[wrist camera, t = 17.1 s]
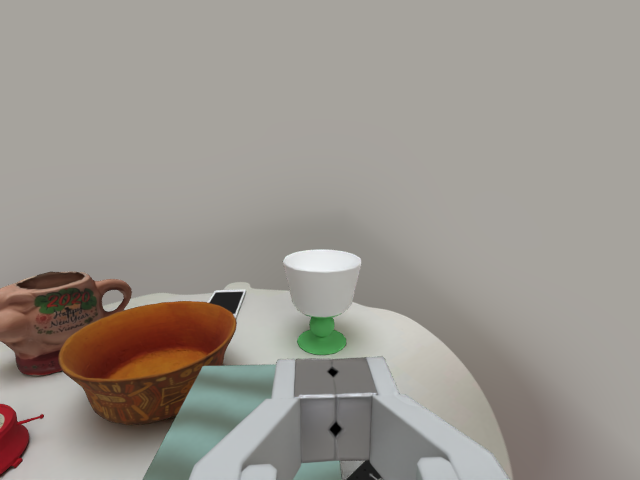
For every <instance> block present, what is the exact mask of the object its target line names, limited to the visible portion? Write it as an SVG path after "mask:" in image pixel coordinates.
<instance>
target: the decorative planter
mask: <svg viewBox="0 0 640 480" xmlns="http://www.w3.org/2000/svg"><path fill="white" fill-rule="evenodd" d="M109 290H119V291H120V292H121V293H123V295H124V299H123V301H122V303H121V304H120V305H119V307H118V308H117V309H115V310H114V311H110V312H107V311H105V310H104V309H103V306H102V297H103V295H104V294H105V293H106V292H107V291H109ZM131 293H132V291H131V288H130V286H129V285H128V284H127V283H126V282H124V281H122V280H118V279H107V280H102V281H94V280H92V278H91V277H90V276H89V275H87V274H86V273H82V272H48V273H44V274H40V275H37V276H33V277H30V278H27V279H24V280H21V281H19V282H17V283H15V284H11V285H8V286H5V287H3V288H1V289H0V341H1V342H3V343H4V344H6V345H7V346H8V347H9V348H11V349H12V350H13V351H14V352H15V356H16V363H17V367H18V369H19V371H21V372H22V373H23V374H27V375H34V376H38V375H46V374H51V373H55V372H59V371H62V369H61V367H60V365H59V360H58V358H59V353H60V350H61V348H62V346H63V345H64V343H65V341H66V340H67V339H68V338H69V337H70V336H71V335H73V334H74V333H75V332H77V331H78V330H80V329H81V328H83V327H85V326H87V325H89V324H91V323H93V322H95V321H97V320H99V319H102V318H105V317H107V316H110V315H112V314H114V313H117V312H120V311H123V310H124V308H125V307H126V306H127V304H128V303H129V301H130V299H131Z"/></svg>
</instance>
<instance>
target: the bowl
mask: <svg viewBox="0 0 640 480" xmlns="http://www.w3.org/2000/svg"><path fill="white" fill-rule="evenodd" d="M236 324H237V323H236V318H235V316H234V315H233V314H232V313H231V312H230V311H229V310H227V309H225V308H224V307H221V306H219V305H215V304H211V303H207V302H192V301H178V302H164V303H158V304H151V305H145V306H140V307H136V308H131V309H128V310H124V311H120V312H117V313H114V314H112V315H110V316H107V317H105V318H102V319H99V320H97V321H95V322H93V323H91V324H89V325H87V326H85V327H83V328H81V329H80V330H78V331H77V332H75V333H74V334H73V335H71V336H70V337H69V338H68V339H67V340H66V341H65V343H64V345H63V346H62V348H61V350H60V353H59V358H58V360H59V365H60V367H61V369H62V371H63V372H64V373H65V374H66V375H67V376H69V377H70V378H71V379H73V380H74V381H75V382H77V383H78V384H79V385H80V386H82V387H83V389H84V391H85V393H86V395H87V398H88V400H89V402H90V404H91V406H92V408H93V410H94V411H95V412H96V413H97V414H98V415H99V416H100V417H102V418H104V419H106V420H108V421H110V422H115V423H122V424H128V425H132V424H147V423H152V422H156V421H160V420H164V419H167V418H169V417H172V416H175V415H177V414H178V412H179V410H180V408H181V406H182V405H183V403H184V401H185V399H186V397H187V395H188V393H189V391H190V390H191V388H192V386H193V384H194V382H195V380H196V378H197V376H198V374H199V373H200V371H201V369H202V367H203V366H223V360H224V354H225V351H226V348H227V346H228V344H229V343H230V341H231V339H232V337H233V335H234V333H235V330H236Z"/></svg>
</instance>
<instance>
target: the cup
mask: <svg viewBox="0 0 640 480" xmlns="http://www.w3.org/2000/svg"><path fill="white" fill-rule="evenodd" d="M283 264H284V268H285V272H286V277H287V281H288V285H289V290H290V294H291V298H292V302H293V304H294V306H295V307H296V308H297V310H298V311H300V312H301V313H303V314H305V315H307V316H310V317H312V318H311V320H310V330H308V331H305V332H303V333H302V334H301V335H300V336H299V338H298V341H297V342H298V345H299V347H300V348H302V349H303V350H304V351H306V352H309V353H312V354H317V355H327V354H333V353H336V352H338V351H340V350H342V349H343V348H344V346H345V345H346V338H345V337H344V336H343V334H341V333H340V332H338V331H336V330H333V329H334V319H333V318H332V317H335V316H338V315H340V314H342V313H344V312H345V311H346V310H347V309H348V308H349V307H350V305H351V304H352V299H353V295H354V291H355V287H356V283H357V279H358V275H359V271H360V267H361V259H360V258H359V257H357V256H356V255H354V254H351V253H347V252H344V251H336V250H305V251H300V252H295V253H292V254H290V255H288V256H286V257H285V259H284V260H283Z"/></svg>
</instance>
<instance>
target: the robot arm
mask: <svg viewBox="0 0 640 480" xmlns="http://www.w3.org/2000/svg"><path fill="white" fill-rule="evenodd" d="M363 460H370V463H371V464H372V466H373V467H374V468H375V469H376V471H377V472H378V473H379V474H380V476H381V477H382V478H383V479H384V480H510V479H509V477H508V476H507V474H506V473H505V471H504V470H503V468H502V467H501V465H500V464H499V462H498V461H497V459H496V458H495V456H494V455H493V453H492V452H490V451H489V450H487V449H486V448H484V447H483V446H481V445H480V444H478V443H477V442H475V441H474V440H472V439H471V438H469V437H468V436H466V435H465V434H463V433H462V432H461V431H459V430H458V429H456V428H455V427H453V426H452V425H450V424H449V423H447V422H446V421H444V420H443V419H441V418H440V417H438V416H437V415H435V414H434V413H432V412H431V411H430V410H428V409H427V408H425V407H424V406H422V405H421V404H419V403H418V402H416V401H415V400H413V399H412V398H410V397H409V396H407V395H406V394H402V395H400V392H399V390H398V388H397V385H396V383H395V381H394V379H393V376H392V374H391V372H390V369H389V367H388V365H387V363H386V360H385V358H384V357H383V356H377V357H364V358H345V359H296V360H295V359H278V360H277V362H276V368H275V375H274V382H273V389H272V396H271V399H265V400H264V401H263V402H262V403H261V404H260V405H259V406H258V407H256V408H255V409H254V410H253V411H252V412H251V413H250V414H249V415H248V416H247V417H246V418H245V419H244V420H242V421H241V422H240V423H239V424H238V425H237V426H236V427H235V428H234V429H233V430H232V431H231V432H230V433H228V434H227V435H226V436H225V437H224V438H223V439H222V440H221V441H220V442H219V443H218V444H217V445H216V446H214V447H213V448H212V449H211V450H210V451H209V452H208V453H207V454H206V455H205V456H204V457H203V458H202V459H200V460H199V461H198V462H197V463H196V464H195V465H194V467H193V470H192V473H191V475H190V478H189V480H293V479H294V477H295V475H296V474H297V472H298V470H299V468H300V467H301V463H312V462H326V461H363Z"/></svg>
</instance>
